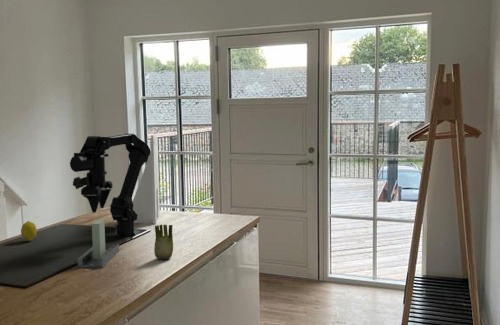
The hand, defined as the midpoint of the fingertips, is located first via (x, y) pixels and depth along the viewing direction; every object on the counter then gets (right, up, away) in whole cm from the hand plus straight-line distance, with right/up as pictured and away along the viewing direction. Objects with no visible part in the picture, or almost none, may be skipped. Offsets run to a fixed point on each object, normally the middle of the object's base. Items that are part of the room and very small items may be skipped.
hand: (98, 210), depth 176 cm
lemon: (-29, -13, +6) cm, 32 cm away
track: (+6, -15, -18) cm, 24 cm away
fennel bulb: (+28, -15, -18) cm, 37 cm away
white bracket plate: (+7, -9, +42) cm, 43 cm away
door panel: (+6, -14, -18) cm, 24 cm away
